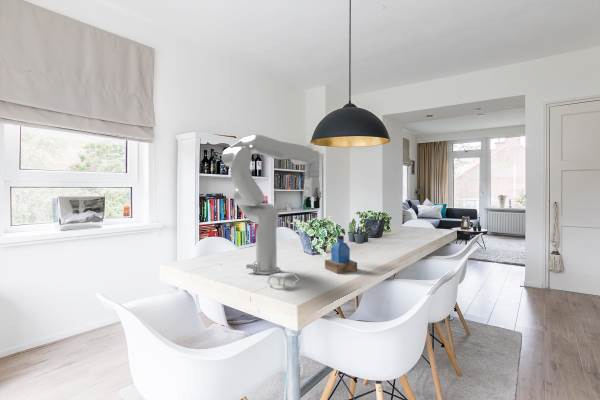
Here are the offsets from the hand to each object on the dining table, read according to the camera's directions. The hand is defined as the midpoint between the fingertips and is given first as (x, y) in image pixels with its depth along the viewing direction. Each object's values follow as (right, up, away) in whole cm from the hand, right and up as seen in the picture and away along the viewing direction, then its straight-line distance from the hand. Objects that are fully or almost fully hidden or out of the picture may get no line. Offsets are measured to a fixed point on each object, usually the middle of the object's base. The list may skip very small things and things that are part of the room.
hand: (312, 207), depth 172 cm
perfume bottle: (+13, -25, -15) cm, 32 cm away
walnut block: (+13, -29, -15) cm, 35 cm away
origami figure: (-12, -30, -41) cm, 52 cm away
